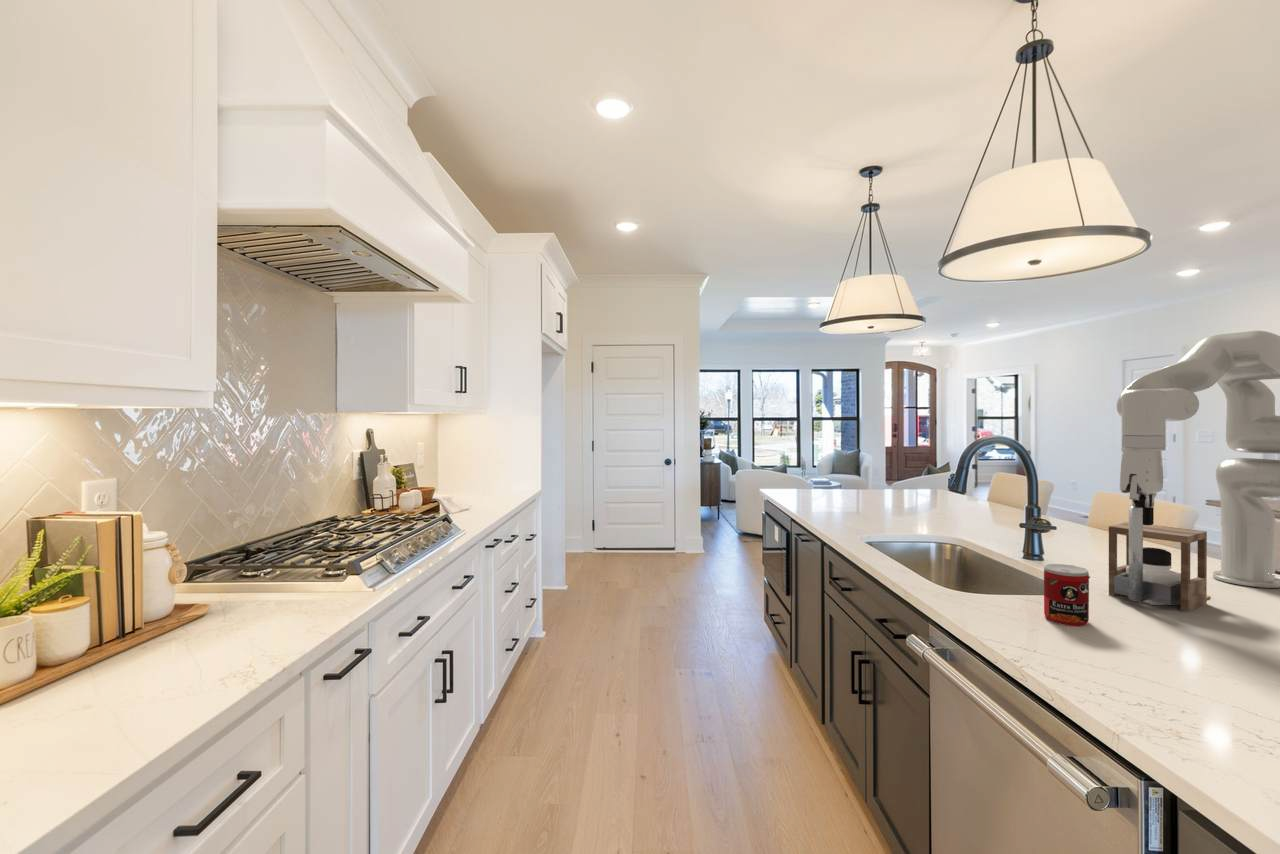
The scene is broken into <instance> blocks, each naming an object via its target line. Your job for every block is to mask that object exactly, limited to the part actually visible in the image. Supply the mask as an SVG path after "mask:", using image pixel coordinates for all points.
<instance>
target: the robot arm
mask: <svg viewBox="0 0 1280 854" xmlns="http://www.w3.org/2000/svg"><path fill="white" fill-rule="evenodd" d="M1261 380H1262V381H1261ZM1263 380H1280V335H1278V334H1276V333H1273V332H1270V331H1265V330H1249V331H1241V332H1231V333H1221V334H1215V335H1210V336H1208V337H1204V338H1203V339H1201V340H1200V341H1198V343H1196V344H1195V346H1193V347H1192V348H1191V349H1190V350H1189V351H1188V352H1187V353H1186V354H1185V355H1184V356H1183V357H1181V358H1180V359H1179V360H1178V361H1177V362H1176V363H1172V364H1170V365H1168V366H1164V367H1162V368H1159V369H1157V370H1155V371H1152V372H1149V373H1147V374H1144V375H1142V376H1140V377H1139V378H1137V379H1135V380H1134V381H1132V382H1131V383H1129V384H1128V386H1127V387H1126V388H1125V389H1124V390H1123V391H1122V392H1121V394H1119V396H1118V399H1117V400H1116V411H1117V413H1118V415H1119V416H1120V417H1121V450H1122V455H1121V462H1120V472H1119V473H1120V474H1119V475H1120V477H1119V491H1120V492H1121V493H1123V494H1127V493H1129V496H1128V497H1129V500H1131V504H1132V505H1131V506H1135V507H1143V525H1148V526H1149V525H1155V524H1154V517H1155V516H1154V515H1155V514H1154V513H1155V512H1154V511H1155V510H1154V507H1155V498H1156V497H1157V494H1158V493H1160V492H1162V491H1163V489H1164V467H1163V466H1164V465H1163V464H1164V463H1163V462H1164V461H1163V454H1162V452H1164V451H1166V435H1167V432H1166V430H1167V429H1166V428H1167V423H1166V422H1181V421H1185V420H1188V419H1191V418H1192V417H1193V416H1195V415H1197V412H1198V411H1199V408H1200V401H1199V398H1198V396H1197V395H1196V393H1197V392H1201V391H1205V390H1208V389H1209V388H1211V387H1213V386H1214V385H1215V384H1216V383H1217V385H1218V386H1219V387H1220V388H1221V390H1222V391H1223V393H1224V396H1225V398H1226V416H1225V417H1226V420H1225V439H1226V440H1225V442H1226V444H1227V447H1228V448H1229V449H1231V451H1235V452H1239V453H1247V454H1248V453H1250V454H1266V455H1267V454H1270V455H1272V454H1273V455H1280V415H1277V414H1276V397H1275V394H1274V392H1273V391H1272V390H1271V389H1270V387H1268V386H1267V385H1266V384H1265V383H1263ZM1215 480H1216V484H1217V487H1218V492H1219V497H1220V498H1219V499H1220V570H1216V571H1213V572H1212V577H1213V578H1214V579H1216V580H1219V581H1222V582H1225V583H1229V584H1232V585H1233V584H1234V585H1239V586H1246V587H1252V588H1253V587H1254V588H1255V587H1256V588H1264V589H1278V588H1280V578H1277V577H1276V569H1275V568H1276V516H1275V513H1274V511H1273V509H1272V507H1270V505H1269V504H1268V503H1267V502H1266V501H1265V500H1264V498H1272V499H1280V459H1273V458H1272V459H1271V458H1270V459H1269V458H1255V457H1253V458H1251V457H1237V458H1236V457H1234V458H1229V459H1226V460H1223V461H1222V462H1220V463H1218V466H1217V467H1216V470H1215ZM1268 573H1269V574H1268ZM1272 574H1275V575H1272Z"/></svg>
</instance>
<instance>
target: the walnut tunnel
mask: <svg viewBox="0 0 1280 854" xmlns="http://www.w3.org/2000/svg"><path fill="white" fill-rule="evenodd" d="M1207 532H1208V531H1205V530H1198V529H1189V528H1181V527H1174V526H1173V527H1172V526H1167V525H1166V526H1163V525H1155V524H1153V525H1149V526H1148V525H1143V539H1145V538H1146V539H1153V540H1159V541H1160V540H1161V541H1169V542H1175V543H1180V573H1181V605H1180V611H1181V610H1182V611H1181V612H1186V611H1187V613H1190V612H1191V610H1192V611H1193V609H1194V610H1196V609H1198V608H1200V606H1201V607H1203V606H1205V605H1207V600H1208V599H1207V595H1208V592H1207V590H1208V589H1207V587H1208V586H1207V584H1208V583H1207V581H1208V580H1207V576H1208V574H1207V570H1208V569H1207V566H1208V565H1207V563H1208V562H1207V559H1208V557H1207V552H1208V550H1207V549H1208V548H1207V547H1208V545H1207V542H1208V541H1207V540H1208V538H1207V536H1208V533H1207ZM1118 535H1125V536H1126V537H1125V538H1126V541H1125V544H1126V547H1125V548H1126V550H1125V553H1126V555H1125V558H1126V559H1125V560H1126V564H1124V565H1121V566H1118ZM1194 542H1197V577H1195V578H1194V577H1193V578H1191V543H1194ZM1127 566H1129V521H1127V522H1122V523H1118V524H1114V525H1109V526H1108V596H1111V595H1112V597H1116V596H1119V594H1118V593H1114V576H1115V575H1118V574H1121V573H1124V572H1126V567H1127ZM1204 604H1205V605H1204ZM1202 605H1203V606H1202Z"/></svg>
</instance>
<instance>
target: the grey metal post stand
mask: <svg viewBox="0 0 1280 854" xmlns="http://www.w3.org/2000/svg"><path fill="white" fill-rule="evenodd" d="M1128 522H1129V578H1128V577H1127V573H1126V572H1124V573H1121V574H1118V575H1115V576H1114V593H1118V594H1120V595H1124V596H1126V597H1128V596H1129V597H1128V598H1129V600H1130V601H1134V602H1140V603H1143V602H1142V601H1145V600H1151V601H1156V602H1160V603H1165V604H1170V605H1169V606H1172V605H1171V604H1173V603H1176V602H1178V601H1181V581H1177V582H1174V583H1172V584H1169V585H1165V584H1159V583H1154V582H1149V581H1143V547H1144V537H1143V507H1135V506H1133V505H1130V506H1128Z"/></svg>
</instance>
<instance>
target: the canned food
mask: <svg viewBox="0 0 1280 854" xmlns="http://www.w3.org/2000/svg"><path fill="white" fill-rule="evenodd" d="M1089 575H1090V574H1089V570H1088V569H1086V568H1083V567H1081V566H1077V565H1072V564H1064V563H1063V564H1061V563H1050V564H1045V565H1044V566H1043V615H1044V617H1045V619H1047V620H1048V621H1050V622H1052V623H1055V624H1058V625H1062V624H1063V625H1064V626H1068V625H1069V626H1070V627H1083V626H1087V625H1088V623H1089V621H1090V620H1089V619H1090V616H1089V615H1090V611H1089V610H1090V603H1089V602H1090V576H1089Z"/></svg>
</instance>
